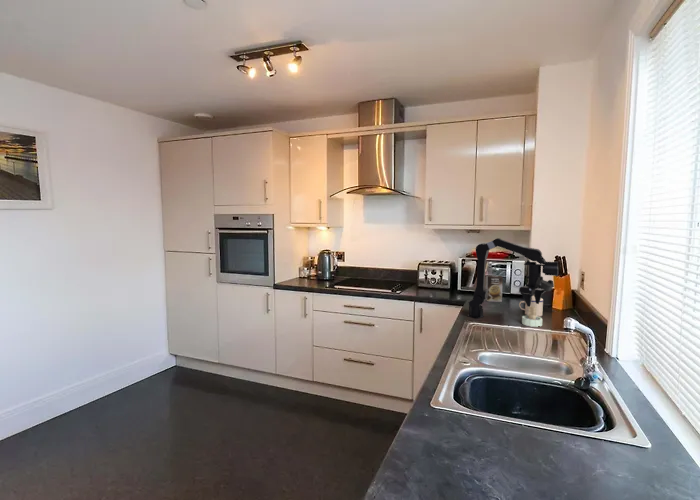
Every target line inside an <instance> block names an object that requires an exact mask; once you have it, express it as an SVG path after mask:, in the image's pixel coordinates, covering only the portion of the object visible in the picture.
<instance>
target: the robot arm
mask: <svg viewBox="0 0 700 500" xmlns="http://www.w3.org/2000/svg"><path fill="white" fill-rule="evenodd" d="M497 247H498V248H501V249H505V250H506V251H510V252H513V253H517V254H520V255H521V256H522V257H524V258H526V259H528V260H527V261H526V262H524V264H523V265H524V266H528V269H527V271H528V272H527V275H526V277H525V278H526V279H527V283H526V284H525V285H523V286H520V287H519V288H518V293H520V294H521V295H522V297H523V299H524V300H523V301H525V302H526V304H527V306H528V307H530V305H531V299H532V296H533V295H534V297H535V301H536V304H539V302H540V299H541V298H542V296H543V294H544V293H546V292H551V291H552V289H553V288H555V283H554V280H551V279H549V280H545V279H544V277H543V276H542V274H544V276H556V277H558V276H559V261H546V259H545V258H544V256H543V253H542V251H541V250H540V249H539V248H535V247H525V246H522V245H519V244H517V243H516V244H515V243H513V242H510V241H507V240H504V239H502V238H501V237H499V238H498V237H497V238H495V239H494V240H491V241H488V242H487V243H485V242H484V243H482V242H481V243H480V244H478V245H476V247H475V254H476V259H477V269H476V271H477V272H476V286H475V290H474V292H473V296H472V299H471V300H470V301H469V302H468V314H467V315H466V316H467V317H469V318H474V319H481V318H483V317H485V315H484V308H483V303H484V302H486V298H487V297H488V295H487V293H488V290H486V269H487V267H486V265H487V259H488V256H489V253H490V250H492V249H494V248H497ZM525 302H524V303H525Z"/></svg>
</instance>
